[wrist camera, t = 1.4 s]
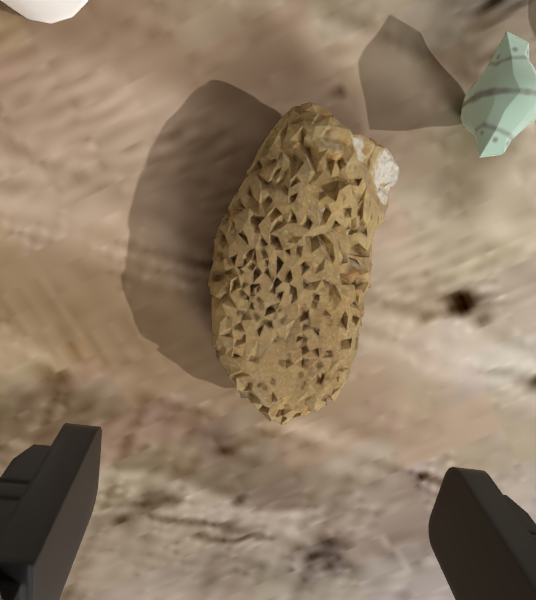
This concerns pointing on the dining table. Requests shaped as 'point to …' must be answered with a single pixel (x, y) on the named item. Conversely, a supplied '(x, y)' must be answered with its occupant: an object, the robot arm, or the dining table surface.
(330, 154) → the sponge
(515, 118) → the mint green faceted piece
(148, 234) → the dining table surface
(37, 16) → the foam cup
